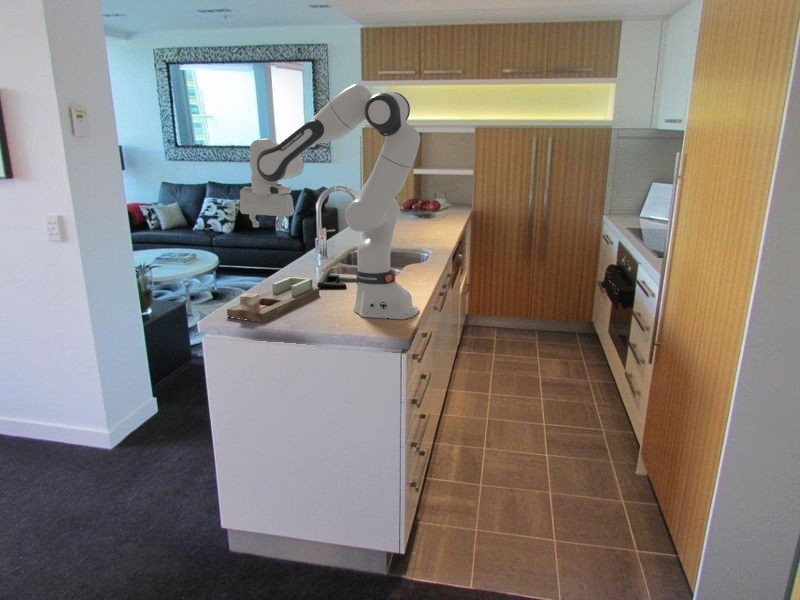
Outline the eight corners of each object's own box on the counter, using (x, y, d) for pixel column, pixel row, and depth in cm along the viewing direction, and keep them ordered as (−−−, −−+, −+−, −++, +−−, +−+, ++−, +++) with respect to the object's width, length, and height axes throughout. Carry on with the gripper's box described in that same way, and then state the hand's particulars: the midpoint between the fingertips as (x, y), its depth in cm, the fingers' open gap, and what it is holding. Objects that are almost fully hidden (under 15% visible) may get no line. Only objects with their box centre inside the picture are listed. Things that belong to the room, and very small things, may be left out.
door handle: (359, 273, 246) (321, 270, 246) (355, 284, 227) (314, 282, 227) (358, 280, 247) (321, 278, 247) (354, 293, 228) (314, 290, 228)
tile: (267, 306, 194) (266, 305, 194) (254, 312, 188) (254, 311, 188) (249, 304, 196) (249, 303, 196) (236, 309, 190) (236, 308, 190)
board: (319, 295, 219) (319, 287, 218) (263, 322, 187) (262, 313, 186) (287, 291, 224) (287, 284, 223) (227, 317, 192) (226, 309, 191)
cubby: (312, 288, 218) (312, 278, 217) (295, 295, 207) (294, 286, 206) (290, 285, 221) (290, 276, 220) (272, 293, 211) (272, 283, 210)
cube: (259, 306, 192) (259, 293, 191) (253, 310, 188) (252, 297, 187) (247, 305, 194) (246, 292, 192) (240, 309, 189) (239, 296, 188)
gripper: (234, 187, 199) (237, 227, 203) (284, 189, 192) (286, 231, 196) (245, 185, 205) (248, 225, 209) (295, 188, 197) (297, 228, 201)
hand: (267, 227), depth 202 cm, fingers open, 8 cm apart
